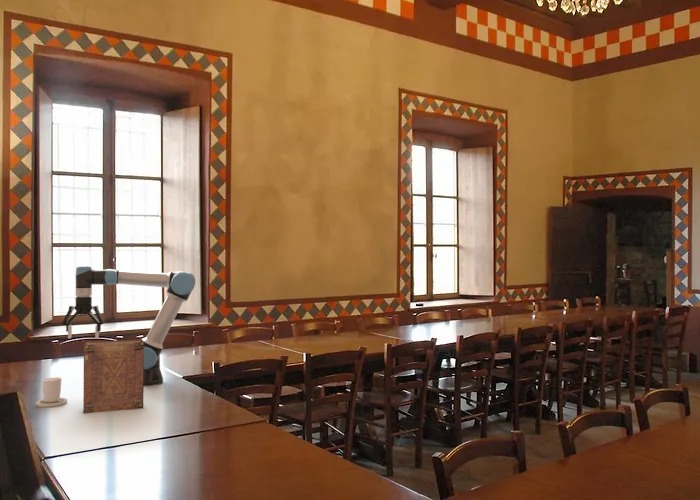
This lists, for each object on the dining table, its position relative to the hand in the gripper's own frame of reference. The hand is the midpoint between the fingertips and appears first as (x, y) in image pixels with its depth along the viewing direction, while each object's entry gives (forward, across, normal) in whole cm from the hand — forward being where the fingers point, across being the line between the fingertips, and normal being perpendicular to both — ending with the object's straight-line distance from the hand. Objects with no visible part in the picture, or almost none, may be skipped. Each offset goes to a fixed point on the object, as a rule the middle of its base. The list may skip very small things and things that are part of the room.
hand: (83, 338), depth 321 cm
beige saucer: (+27, -4, -28) cm, 39 cm away
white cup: (+25, -4, -28) cm, 38 cm away
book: (+27, +27, -37) cm, 53 cm away
